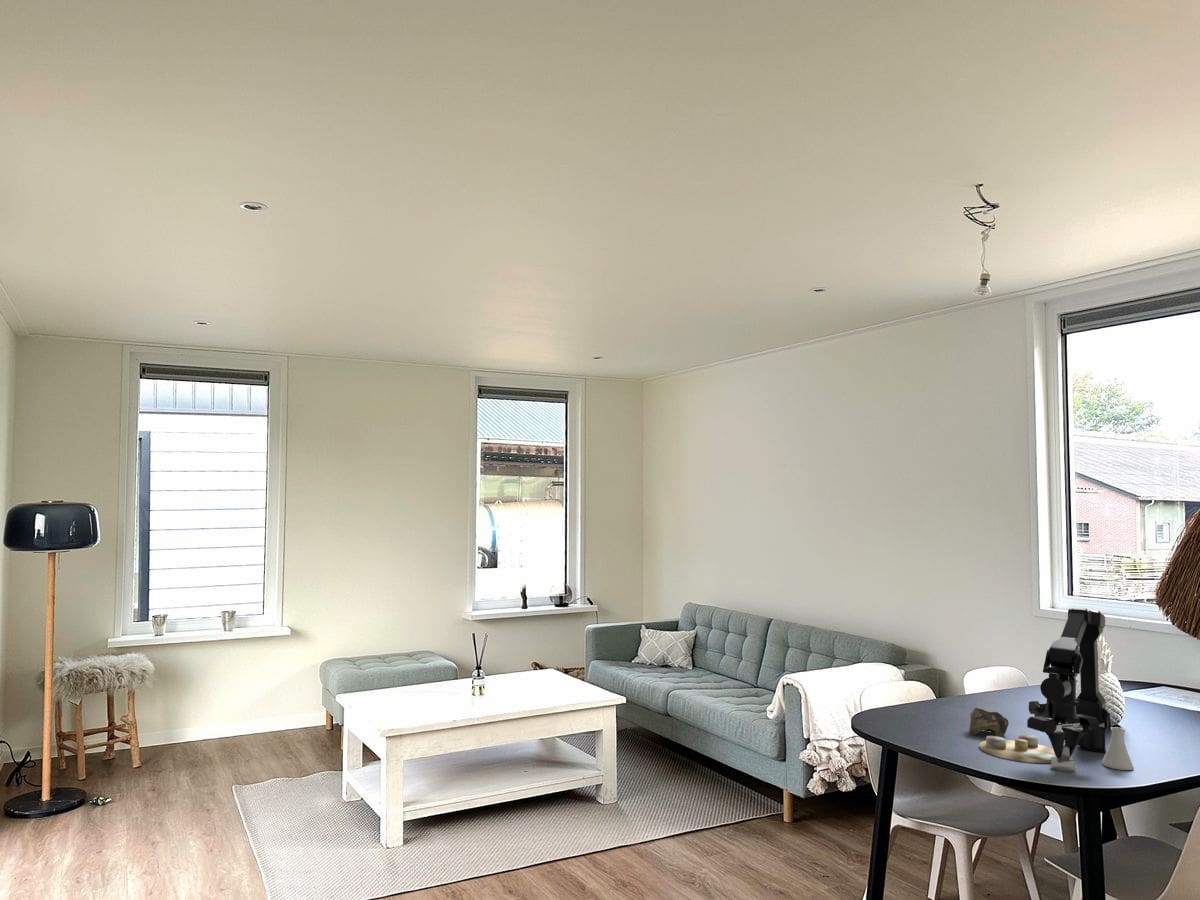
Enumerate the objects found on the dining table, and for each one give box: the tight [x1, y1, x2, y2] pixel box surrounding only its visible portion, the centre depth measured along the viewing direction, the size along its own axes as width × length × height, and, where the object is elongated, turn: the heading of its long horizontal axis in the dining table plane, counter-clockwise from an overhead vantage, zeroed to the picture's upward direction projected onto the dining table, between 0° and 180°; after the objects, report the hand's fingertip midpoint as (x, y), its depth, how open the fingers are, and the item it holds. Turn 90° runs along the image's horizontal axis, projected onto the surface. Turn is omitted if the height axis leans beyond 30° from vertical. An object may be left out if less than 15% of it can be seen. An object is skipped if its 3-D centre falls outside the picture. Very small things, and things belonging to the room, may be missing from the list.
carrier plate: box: [979, 733, 1056, 764], centre depth 247 cm, size 21×21×3 cm
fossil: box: [968, 707, 1009, 738], centre depth 266 cm, size 11×9×10 cm
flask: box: [1101, 726, 1135, 771], centre depth 237 cm, size 7×7×10 cm
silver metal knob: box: [1050, 743, 1076, 773], centre depth 232 cm, size 6×6×6 cm
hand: (1063, 757), depth 232 cm, fingers closed on silver metal knob, 3 cm apart
